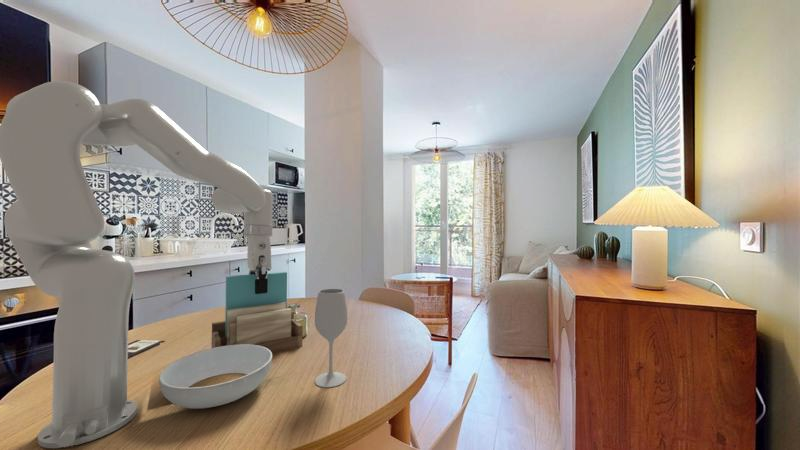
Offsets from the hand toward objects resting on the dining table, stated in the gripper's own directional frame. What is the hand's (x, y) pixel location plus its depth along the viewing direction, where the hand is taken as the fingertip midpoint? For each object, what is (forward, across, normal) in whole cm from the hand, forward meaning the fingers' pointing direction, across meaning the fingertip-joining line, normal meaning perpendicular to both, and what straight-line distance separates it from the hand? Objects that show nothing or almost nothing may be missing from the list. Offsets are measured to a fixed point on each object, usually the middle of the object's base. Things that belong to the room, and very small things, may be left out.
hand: (257, 290), depth 89 cm
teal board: (+16, 0, 0) cm, 16 cm away
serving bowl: (+18, -20, +11) cm, 29 cm away
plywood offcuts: (+16, -4, 0) cm, 17 cm away
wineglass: (+18, -28, -11) cm, 35 cm away
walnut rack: (+18, -2, 0) cm, 18 cm away
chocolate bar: (+18, +20, +31) cm, 42 cm away
